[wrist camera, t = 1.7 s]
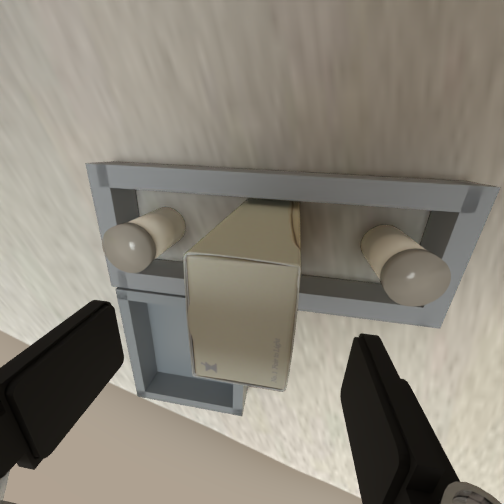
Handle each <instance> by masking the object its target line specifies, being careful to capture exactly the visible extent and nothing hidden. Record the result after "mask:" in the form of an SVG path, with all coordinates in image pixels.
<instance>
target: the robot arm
mask: <svg viewBox="0 0 504 504" xmlns="http://www.w3.org/2000/svg"><path fill="white" fill-rule="evenodd" d="M123 361H124V354H123V349H122V344H121V339H120V334H119V329H118V324H117V319H116V314H115V309H114V307H113V306H112V305H111V303H110V302H107V301H99V300H93V301H91V302H89V303H88V304H87V305H85V306H84V307H83V308H81V309H80V310H79V311H77V312H76V313H74V314H73V315H72V316H70V317H69V318H68V319H66V320H65V321H64V322H62V323H61V324H59V325H58V326H57V327H55V328H54V329H53V330H51V331H50V332H49V333H47V334H46V335H44V336H43V337H42V338H40V339H39V340H38V341H36V342H35V343H34V344H32V345H31V346H29V347H28V348H27V349H25V350H24V351H23V352H21V353H20V354H19V355H17V356H16V357H15V358H13V359H12V360H10V361H9V362H8V363H6V364H5V365H4V366H2V367H1V368H0V504H16V503H11V502H7V501H3V497H4V493H5V489H6V485H7V480H8V476H9V472H10V469H11V468H12V467H13V466H14V465H15V464H16V463H17V464H18V466H19V467H24V468H28V469H33V470H34V469H35V468H36V467H37V466H38V464H39V463H40V462H41V461H42V460H43V458H46V457H48V456H49V455H50V454H51V453H52V452H53V451H54V450H55V448H56V447H57V446H58V444H59V443H60V442H61V441H62V439H63V438H64V437H65V436H66V434H67V433H68V432H69V431H70V429H71V428H72V427H73V426H74V424H75V423H76V422H77V421H78V419H79V418H80V417H81V415H82V414H83V413H84V412H85V411H86V409H87V408H88V407H89V406H90V404H91V403H92V402H93V401H94V399H95V398H96V397H97V396H98V394H99V393H100V392H101V391H102V389H103V388H104V387H105V386H106V384H107V383H108V382H109V381H110V379H111V378H112V377H113V376H114V374H115V373H116V372H117V371H118V369H119V368H120V367H121V365H122V363H123ZM341 403H342V408H343V413H344V418H345V422H346V427H347V432H348V437H349V441H350V446H351V451H352V456H353V460H354V465H355V470H356V475H357V479H358V484H359V489H360V494H361V498H362V503H363V504H501V503H500V502H499V501H498V500H497V499H495V498H494V497H493V496H492V495H490V494H489V493H487V492H486V491H484V490H482V489H481V488H479V487H477V486H474V485H472V484H469V483H467V482H460V480H459V479H458V477H457V475H456V473H455V471H454V469H453V467H452V465H451V463H450V461H449V459H448V458H447V456H446V454H445V452H444V450H443V448H442V446H441V444H440V442H439V440H438V438H437V437H436V435H435V433H434V431H433V429H432V427H431V425H430V423H429V421H428V419H427V417H426V416H425V414H424V412H423V410H422V408H421V406H420V404H419V402H418V400H417V398H416V396H415V395H414V393H413V391H412V389H411V387H410V385H409V384H408V382H407V381H406V380H404V379H400V377H399V375H398V373H397V371H396V369H395V367H394V365H393V363H392V361H391V359H390V357H389V355H388V353H387V351H386V349H385V347H384V345H383V343H382V341H381V339H380V337H379V336H377V335H370V334H360V335H359V337H355V338H354V340H353V343H352V347H351V351H350V355H349V359H348V363H347V367H346V371H345V375H344V379H343V383H342V387H341Z"/></svg>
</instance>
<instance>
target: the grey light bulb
mask: <svg viewBox="0 0 504 504" xmlns="http://www.w3.org/2000/svg"><path fill="white" fill-rule="evenodd" d="M185 229H186V226H185V222H184V219H183V217H182V216H181V215H180V214H179V213H178V212H177V211H176V210H174V209H172V208H169V207H162V208H159V209H157V210H154V211H152V212H150V213H148V214H145V215H143V216H141V217H138V218H136V219H134V220H131V221H129V222H125V223H121V224H118V225H116V226H114V227H111V228H110V229H108V230H107V231H106V232H105V234H104V236H103V240H102V246H103V251H104V253H105V255H106V257H107V259H108V260H109V261H110V262H111V263H112V264H113V265H114V266H115V267H116V268H118V269H119V270H121V271H124V272H127V273H138V272H141V271H142V270H144V269H145V268H146V267H148V266H149V265H150V264H151V263H152V262H153V261H154V259H156V258H157V257H158V256H159V255H161V254H162V253H163V252H164V251H166V250H167V249H168V248H170V247H171V246H172V245H173V244H175V243H176V242H177V241H179V240H180V239H181V238H182V237H183V235H184V233H185Z"/></svg>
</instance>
